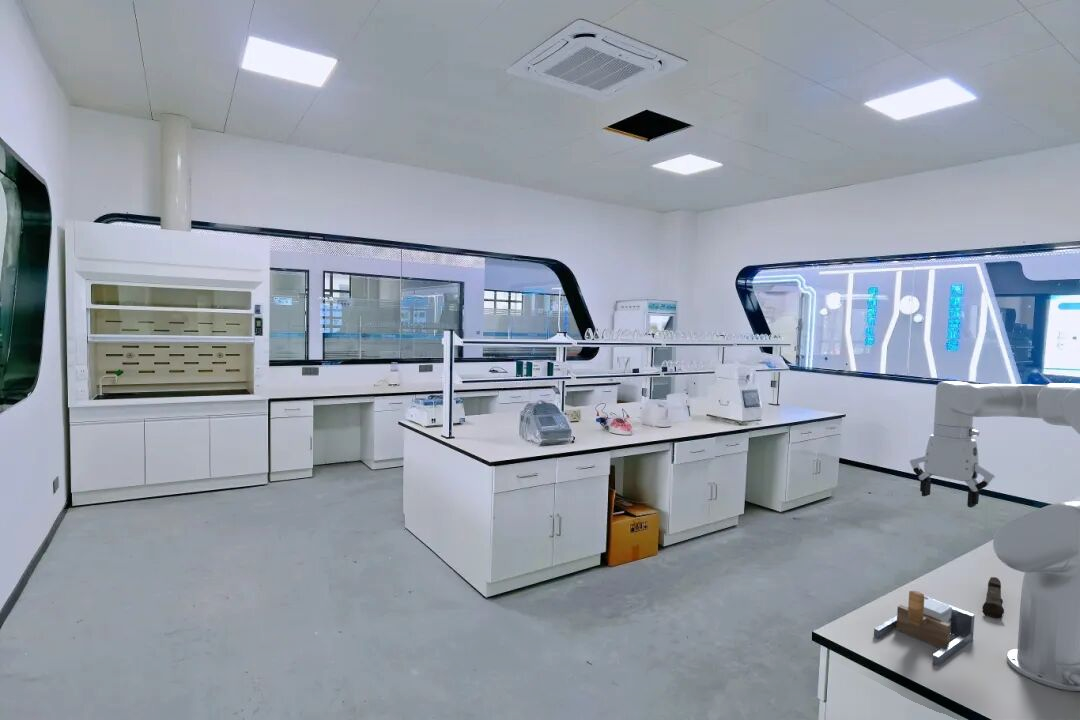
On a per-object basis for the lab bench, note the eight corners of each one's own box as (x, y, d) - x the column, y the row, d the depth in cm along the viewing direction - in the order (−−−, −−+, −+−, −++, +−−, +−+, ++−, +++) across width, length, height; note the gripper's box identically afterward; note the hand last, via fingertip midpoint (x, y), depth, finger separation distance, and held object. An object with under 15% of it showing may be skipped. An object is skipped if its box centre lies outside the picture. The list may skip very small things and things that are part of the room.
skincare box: (938, 645, 122) (940, 613, 122) (908, 632, 128) (910, 601, 127) (950, 637, 126) (952, 606, 125) (920, 625, 131) (922, 595, 130)
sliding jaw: (936, 657, 117) (940, 605, 117) (886, 635, 126) (889, 586, 125) (949, 648, 121) (952, 597, 120) (899, 627, 129) (902, 579, 128)
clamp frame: (937, 666, 115) (939, 638, 114) (873, 636, 125) (875, 611, 125) (972, 640, 125) (974, 614, 124) (910, 615, 135) (912, 591, 135)
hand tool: (1002, 622, 133) (1004, 603, 133) (981, 616, 136) (983, 597, 135) (1007, 595, 147) (1008, 578, 147) (988, 590, 150) (989, 573, 149)
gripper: (1002, 436, 129) (997, 508, 130) (919, 425, 143) (915, 489, 144) (990, 440, 125) (985, 513, 126) (906, 427, 139) (902, 493, 140)
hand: (948, 500), depth 135 cm, fingers open, 9 cm apart
